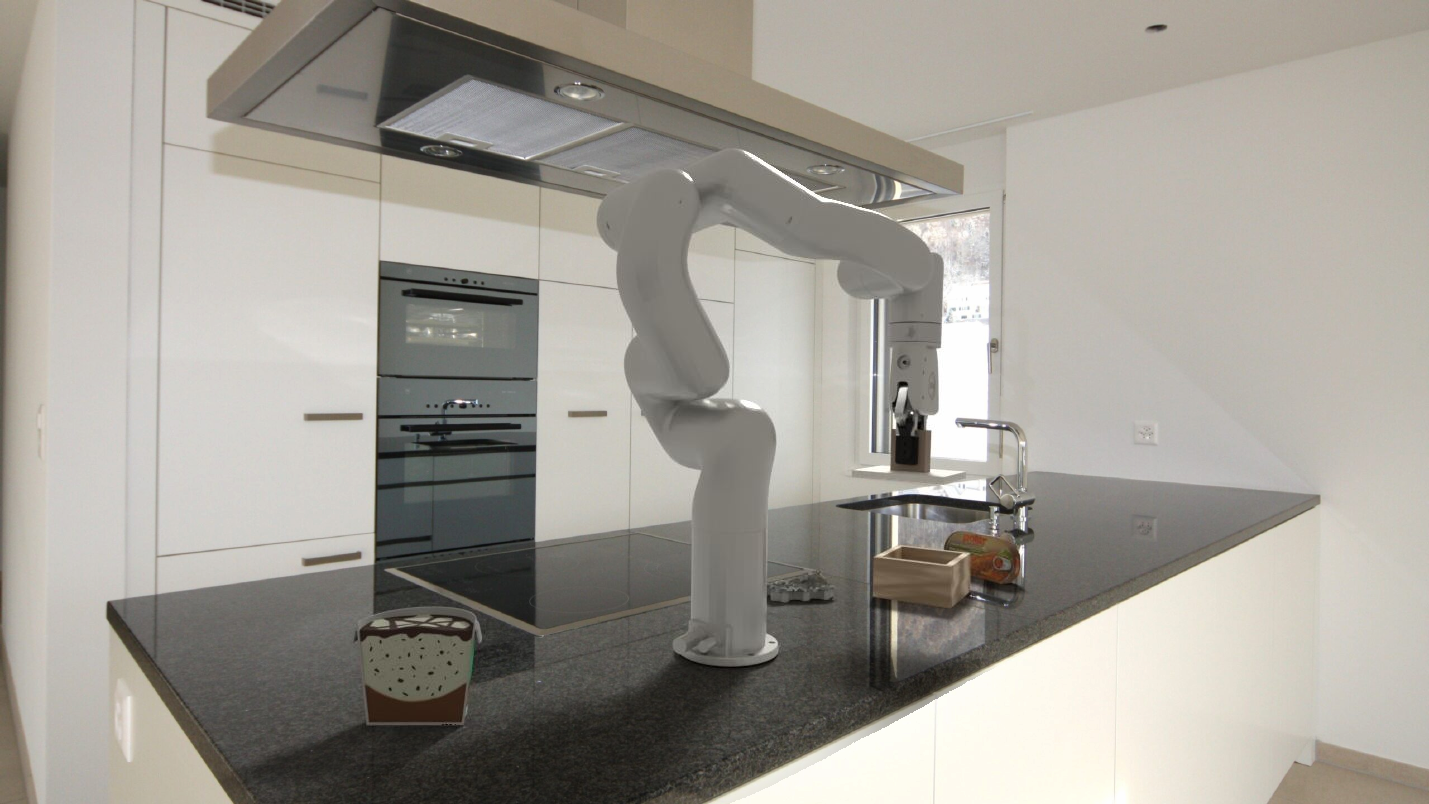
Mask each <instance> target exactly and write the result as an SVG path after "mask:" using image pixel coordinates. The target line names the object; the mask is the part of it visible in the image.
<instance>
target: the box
mask: <svg viewBox="0 0 1429 804" xmlns="http://www.w3.org/2000/svg"><path fill="white" fill-rule="evenodd" d="M872 566H873V569H872V570H873V571H872V577H873V581H872V584H873V585H872V597H873V598H878V599H885V600H892V601H897V602H898V601H899V602H905V603H911V604H918V605H924V606H931V607H932V606H933V607H938V608H945V609H952V608H953V607H954V606H955V605H956V604H957V603H959V602H960V601H961V600H963V599H964V597H966V596H967V595H968V594H969V593H971V576H970V568H971V553H966V552H957V551H948V550H944V549H938V548H930V547H919V546H912V545H911V546H910V545H903V544H897V545H895V546H893V547H891V548H888V549H887V550H885V551H883V552H881V553H879V554H877V555H875V556H873V564H872Z"/></svg>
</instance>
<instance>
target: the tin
mask: <svg viewBox="0 0 1429 804" xmlns="http://www.w3.org/2000/svg"><path fill="white" fill-rule="evenodd" d="M943 550H948V551H957V552H966V553H971V568H970V577H974V578H979V579H982V580H986V581H991V582H993V583H997V584H999V585H1008V584H1012V583H1014V581H1016V580H1017V578H1018V577H1019V575H1020V570H1021V562H1022V561H1021V554H1020V551H1019V549H1018V548H1017V546H1016V545H1015V544H1014V543H1013V542H1012V541H1011V540H1009V539H1008V538H1006V537H1001V536H996V535H989V534H984V533H978V532H973V531H965V530H964V531H963V530H957V531H954V532H952V533H951V534H950V535H949V536H947V538H946V540H945V542H944V546H943Z"/></svg>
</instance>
